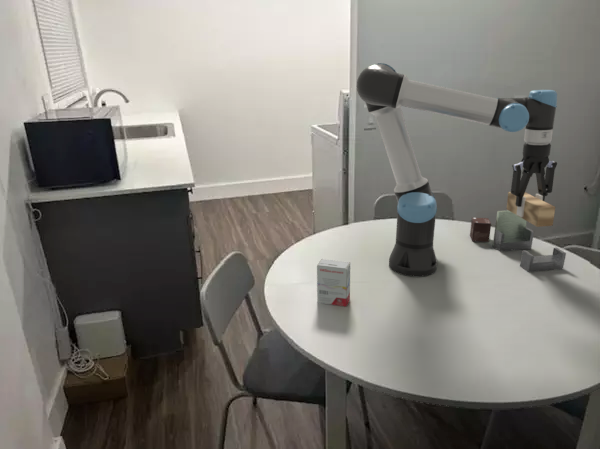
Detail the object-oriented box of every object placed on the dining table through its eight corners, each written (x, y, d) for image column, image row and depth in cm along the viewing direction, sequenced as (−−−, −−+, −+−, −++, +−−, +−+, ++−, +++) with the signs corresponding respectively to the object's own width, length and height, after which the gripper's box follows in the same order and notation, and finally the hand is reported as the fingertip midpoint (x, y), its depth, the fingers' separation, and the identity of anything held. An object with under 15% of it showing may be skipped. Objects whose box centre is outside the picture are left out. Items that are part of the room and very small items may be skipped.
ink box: (350, 299, 133) (351, 261, 128) (346, 307, 128) (347, 268, 124) (321, 294, 135) (321, 257, 131) (316, 302, 131) (316, 264, 127)
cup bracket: (499, 251, 162) (504, 216, 157) (491, 245, 167) (496, 211, 162) (531, 248, 164) (537, 213, 159) (522, 243, 168) (527, 208, 164)
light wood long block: (552, 225, 142) (555, 206, 140) (537, 226, 141) (539, 208, 139) (520, 207, 159) (522, 190, 156) (506, 209, 158) (508, 192, 156)
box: (489, 242, 170) (491, 223, 167) (471, 241, 171) (473, 222, 168) (486, 236, 175) (488, 218, 173) (469, 235, 176) (471, 217, 174)
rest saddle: (528, 272, 147) (531, 256, 145) (519, 265, 151) (522, 250, 149) (563, 268, 148) (566, 253, 146) (553, 262, 152) (556, 247, 151)
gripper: (516, 147, 138) (508, 221, 145) (573, 142, 139) (562, 216, 147) (502, 142, 145) (495, 213, 152) (557, 138, 146) (547, 209, 154)
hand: (528, 214), depth 150 cm, fingers closed on light wood long block, 5 cm apart
